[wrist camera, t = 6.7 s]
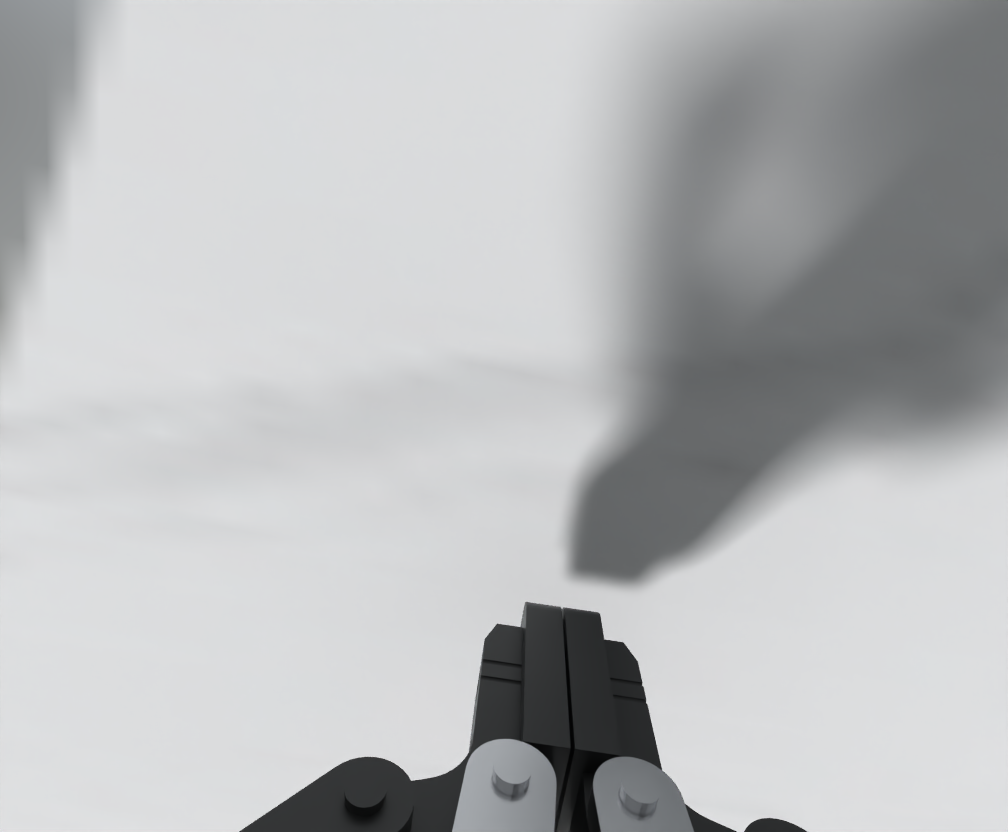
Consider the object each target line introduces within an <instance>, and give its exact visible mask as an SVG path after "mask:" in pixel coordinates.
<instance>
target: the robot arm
mask: <svg viewBox="0 0 1008 832" xmlns="http://www.w3.org/2000/svg"><path fill="white" fill-rule="evenodd" d="M240 832H736V831H734V830H732V829H730V828H727V827H725V826H723V825H721V824H718V823H716V822H714V821H711V820H709V819H707V818H705V817H703V816H701V815H700V814H698V813H697V812H695V811H694V810H692V809H691V808H690V807H688V806H687V805H686V804H685V803H684V800H683V797H682V795H681V792H680V791H679V789H678V787H677V786H676V784H675V783H674V782H673V780H672V779H671V778H670V777H669V776H668V775H667V774H666V773H665V772H663V771H662V768H661V763H660V759H659V754H658V750H657V745H656V741H655V737H654V732H653V728H652V723H651V719H650V714H649V710H648V705H647V704H646V697H645V692H644V688H643V686H642V679H641V674H640V670H639V665H638V661H637V660H636V659H635V657H634V656H633V655H632V653H631V652H630V651H629V649H628V648H627V647H626V645H625V644H624V643H623V642H617V641H611V640H604V636H603V629H602V623H601V617H600V614H599V613H598V612H591V611H584V610H578V609H571V608H564V607H563V609H561V607H556V606H550V605H543V604H536V603H529V602H526V603H525V606H524V611H523V616H522V622H521V627H515V626H509V625H502V624H497V625H496V626H495V627H494V628H493V630H492V631H491V632H490V633H489V635H488V636H487V637H486V638H485V641H484V648H483V654H482V661H481V667H480V674H479V680H478V686H477V693H476V699H475V707H474V715H473V724H472V731H471V739H470V747H469V753H468V755H467V756H466V758H465V759H464V760H463V761H462V762H461V764H460V765H458V766H457V767H456V768H454V769H453V770H451V771H449V772H448V773H446V774H443V775H440V776H437V777H433V778H428V779H422V780H415V781H411V780H410V778H409V777H408V775H407V774H406V773H405V772H404V770H403V769H401V768H400V767H399V766H398V765H396V764H394V763H392V762H391V761H388V760H385V759H382V758H377V757H361V758H356V759H352V760H349V761H346V762H344V763H342V764H340V765H338V766H337V767H335V768H333V769H332V770H330V771H329V772H328V773H326V774H325V775H323V776H322V777H320V778H319V779H317V780H316V781H314V782H313V783H311V784H310V785H308V786H307V787H305V788H304V789H302V790H301V791H299V792H298V793H296V794H295V795H293V796H292V797H290V798H289V799H287V800H286V801H284V802H283V803H281V804H280V805H278V806H277V807H275V808H274V809H272V810H271V811H269V812H268V813H266V814H265V815H263V816H262V817H260V818H259V819H257V820H256V821H254V822H253V823H251V824H250V825H248V826H247V827H245V828H244V829H243V830H241V831H240ZM744 832H807V831H805V830H804V829H802V828H800V827H798V826H796V825H794V824H792V823H789V822H787V821H783V820H779V819H773V818H764V819H759V820H756V821H754V822H752V823H751V824H750V825H749V826H748V827H747V828H746V830H745V831H744Z"/></svg>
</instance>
